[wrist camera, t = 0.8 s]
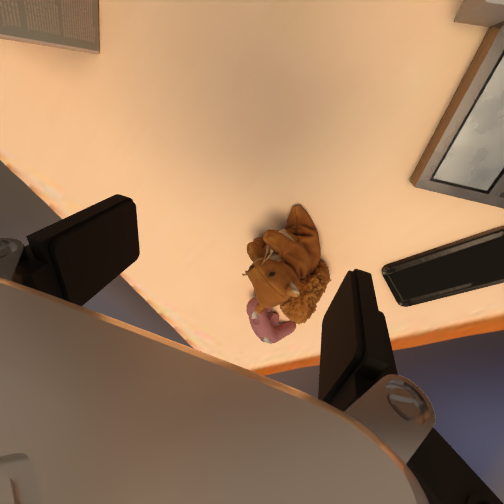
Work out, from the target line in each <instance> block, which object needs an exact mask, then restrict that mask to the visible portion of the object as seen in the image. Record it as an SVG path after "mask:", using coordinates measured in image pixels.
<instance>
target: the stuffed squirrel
mask: <svg viewBox="0 0 504 504" xmlns="http://www.w3.org/2000/svg"><path fill="white" fill-rule="evenodd" d="M247 253H248V255H249V257H250V258H251V260H252V261H253V262H254V263H253V264H252V265H251V266H250V267H249V270H248V271H245V272H246V274H242V275H243V276H244V275H248V277H249V279H250V281H251V282H252V284H253V286H254V291H255V296H256V299H257V300H258V303H257V304H256V306H255V312H256V313H258V314H262V313H263V312H264V311H265V309H266V308H272V307H275V306H277V305H279V304H280V309H282V312H284V314H285V315H286V316H287V317H288V318H289V320H290V321H292V320H293V321H295V323H297V324H300V323H301V324H302V323H305V322H306V321H307V319H308V318H310V316H311V315H312V313H314V311H316V309H315V308H316V307H317V306H316V303H317V302H318V301H319V300H320V298H321V296H322V294H323V292H325V289H326V287H327V286H326V285H327V284H328V283H329V281H331V279H330V274H329V270H328V267H327V266H326V264H325V263H324V262H322V261H321V260H320V244H319V238H318V232H317V230H316V228H315V226H314V224H313V222H312V220H311V218H310V216H309V215H308V213H307V212H306V211H305V210H304V209H303V208H302V207H301V206H300V205H298V206H294V207H293V208H292V210H291V212H290V215H289V218H288V221H287V225H286V229H281V230H279V231H275V230H267V231H265V233H264V235H263V238H259V239H254V240H253V242H251V243H249V244H248V245H247Z"/></svg>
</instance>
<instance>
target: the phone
mask: <svg viewBox="0 0 504 504" xmlns="http://www.w3.org/2000/svg"><path fill="white" fill-rule="evenodd" d="M382 274H383V277H384V279H385V281H386V282H387V284H388V286H389V288H390V290H391V292H392V294H393V296H394V297H395V299H396V301H397V303H398V304H399V305H400V306H404V307H407V306H412V305H416V304H420V303H424V302H428V301H432V300H436V299H440V298H444V297H448V296H452V295H456V294H460V293H464V292H468V291H472V290H476V289H480V288H484V287H488V286H492V285H496V284H500V283H504V226H500V227H497V228H494V229H491V230H488V231H485V232H482V233H479V234H476V235H473V236H470V237H467V238H464V239H461V240H458V241H455V242H452V243H449V244H446V245H443V246H440V247H437V248H434V249H431V250H428V251H425V252H422V253H419V254H416V255H413V256H411V257H408V258H405V259H402V260H399V261H396V262H393V263H390V264H387V265H385V266H384V267H383V268H382Z"/></svg>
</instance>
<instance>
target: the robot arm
mask: <svg viewBox="0 0 504 504" xmlns="http://www.w3.org/2000/svg"><path fill="white" fill-rule="evenodd" d="M27 239H28V241H29V245H27V246H24V244H23V243H22V242H21V241H20V240H17V239H13V238H0V504H503V503H502V502H501V501H500V499H499V498H498V497H497V496H496V495H495V494H494V493H493V492H492V491H491V490H490V489H489V488H488V486H487V485H486V484H485V483H484V482H483V481H482V480H481V479H480V478H479V477H478V476H477V474H476V473H475V472H474V471H473V470H472V469H471V468H470V467H469V466H468V465H467V464H466V462H465V461H464V460H463V459H462V458H461V457H460V456H459V455H458V454H457V453H456V452H455V451H454V449H452V447H451V446H450V445H449V444H448V443H447V442H446V441H445V440H444V439H443V438H442V436H441V435H440V434H439V433H438V432H437V431H436V430H435V429H434V428H433V426H434V423H435V412H434V409H433V407H432V404H431V402H430V401H429V399H428V398H427V396H426V395H425V393H424V392H423V391H422V390H421V389H420V388H419V387H418V386H417V385H415V384H414V383H413V382H412V381H410V380H408V379H406V378H405V377H402V376H399V375H398V374H397V369H396V365H395V360H394V356H393V351H392V347H391V342H390V338H389V333H388V329H387V324H386V320H385V316H384V314H383V313H382V312H380V311H378V306H377V301H376V296H375V291H374V286H373V281H372V276H371V274H370V273H368V272H365V271H362V270H358V269H355V270H354V271H348V272H347V274H346V276H345V278H344V280H343V282H342V283H341V285H340V287H339V289H338V291H337V293H336V295H335V297H334V299H333V300H332V302H331V304H330V306H329V308H328V310H327V312H326V314H325V316H324V318H323V322H322V337H321V355H320V374H319V393H318V399H317V398H315V397H313V396H311V395H309V394H306V393H304V392H302V391H300V390H297V389H295V388H292V387H289V386H287V385H284V384H282V383H280V382H277V381H275V380H272V379H270V378H267V377H265V376H262V375H260V374H257V373H255V372H252V371H250V370H247V369H245V368H242V367H239V366H237V365H234V364H232V363H229V362H226V361H224V360H221V359H219V358H216V357H213V356H211V355H208V354H206V353H203V352H201V351H198V350H195V349H193V348H190V347H188V346H185V345H182V344H180V343H177V342H174V341H172V340H169V339H167V338H164V337H161V336H159V335H156V334H153V333H151V332H148V331H146V330H143V329H140V328H137V327H135V326H132V325H129V324H127V323H124V322H122V321H119V320H116V319H114V318H111V317H108V316H106V315H103V314H100V313H97V312H95V311H92V310H90V309H87V308H84V307H82V306H83V305H84V304H85V303H86V302H87V301H89V300H90V299H91V298H92V297H93V296H94V295H96V294H97V293H98V292H99V291H100V290H101V289H103V288H104V287H105V286H106V285H107V284H109V283H110V282H111V281H112V280H113V279H115V278H116V277H117V276H118V275H119V274H120V273H122V272H123V271H124V270H125V269H126V268H128V267H129V266H130V265H131V264H132V263H133V262H135V261H136V260H137V259H138V257H139V254H140V251H139V238H138V226H137V213H136V205H135V203H134V202H133V200H132V199H131V198H129V197H126V196H122V195H119V194H116V195H114V196H112V197H109V198H107V199H105V200H103V201H101V202H99V203H97V204H95V205H92V206H90V207H88V208H86V209H84V210H82V211H80V212H77V213H75V214H73V215H71V216H69V217H67V218H65V219H62V220H60V221H58V222H56V223H54V224H52V225H50V226H47V227H45V228H43V229H41V230H39V231H37V232H35V233H33V234H30V235H28V236H27Z"/></svg>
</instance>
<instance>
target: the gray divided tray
mask: <svg viewBox="0 0 504 504" xmlns="http://www.w3.org/2000/svg"><path fill="white" fill-rule="evenodd" d="M409 181H410V182H411V183H412V184H413V186H414V187H417V188H421V189H425V190H429V191H433V192H438V193H442V194H446V195H450V196H454V197H459V198H463V199H467V200H471V201H475V202H479V203H484V204H488V205H492V206H496V207H500V208H504V21H503V22H501V23H498V24H496V25H494V26H491V27H490V28H489V30H488V32H487V34H486V36H485V38H484V40H483V41H482V43H481V45H480V47H479V49H478V51H477V53H476V55H475V57H474V59H473V60H472V62H471V64H470V66H469V68H468V70H467V72H466V74H465V76H464V78H463V79H462V81H461V83H460V85H459V87H458V89H457V91H456V93H455V95H454V97H453V99H452V100H451V102H450V104H449V106H448V108H447V110H446V112H445V114H444V116H443V118H442V119H441V121H440V123H439V125H438V127H437V129H436V131H435V133H434V135H433V137H432V138H431V140H430V142H429V144H428V146H427V148H426V150H425V152H424V154H423V156H422V158H421V159H420V161H419V163H418V165H417V167H416V169H415V171H414V173H413V175H412V177H411V178H410V180H409Z"/></svg>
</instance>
